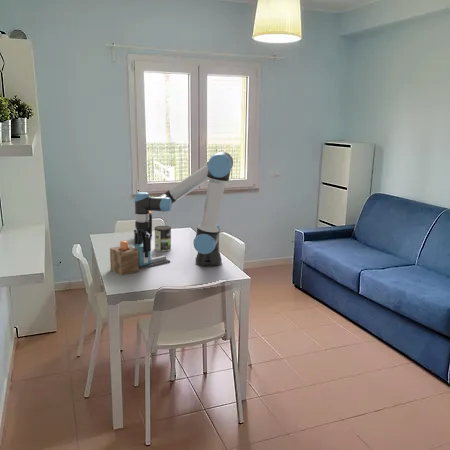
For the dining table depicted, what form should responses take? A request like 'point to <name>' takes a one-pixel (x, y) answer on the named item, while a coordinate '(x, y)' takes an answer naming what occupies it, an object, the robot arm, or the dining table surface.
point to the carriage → (140, 254)
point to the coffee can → (162, 238)
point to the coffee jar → (149, 223)
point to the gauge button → (123, 245)
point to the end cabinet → (124, 260)
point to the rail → (155, 262)
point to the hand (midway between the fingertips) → (142, 261)
